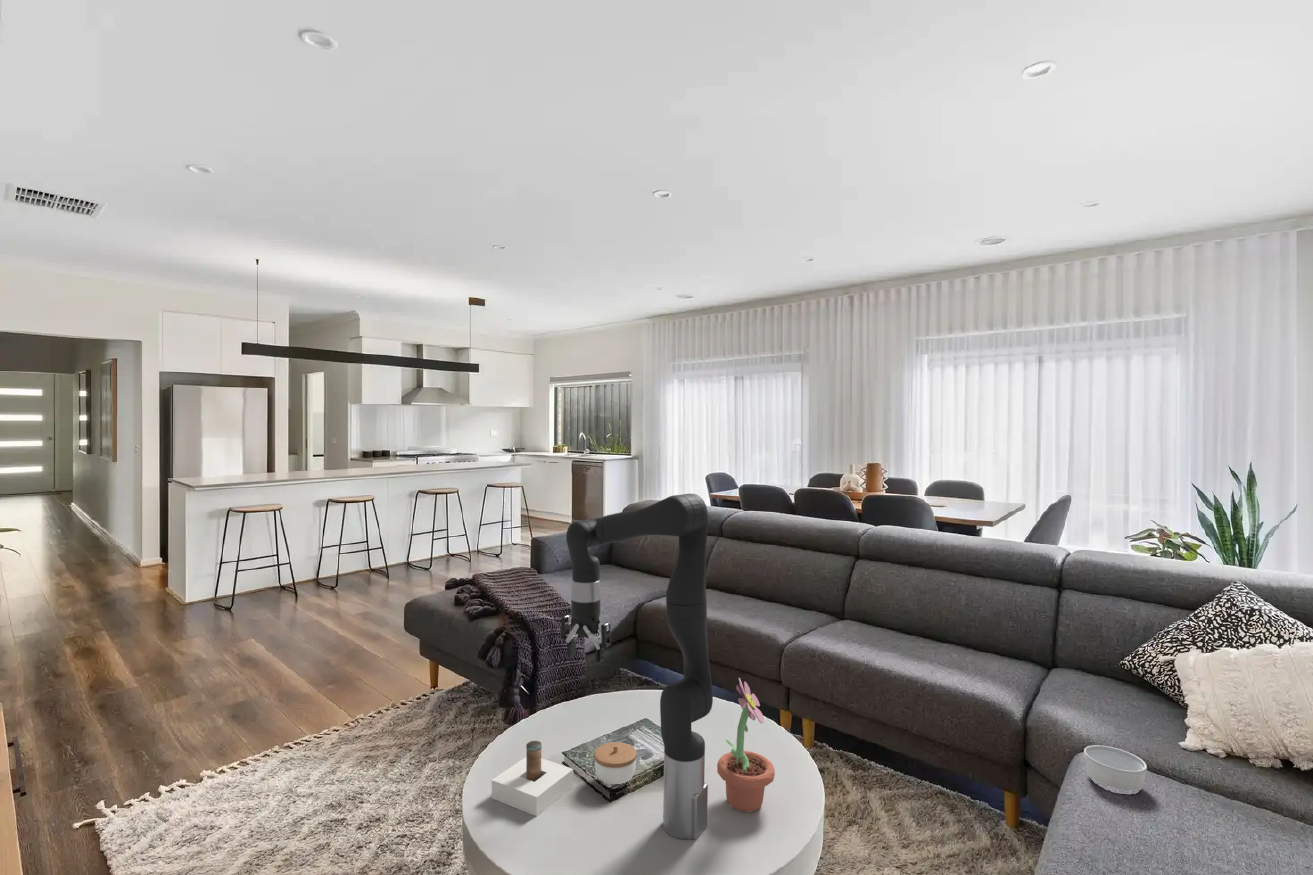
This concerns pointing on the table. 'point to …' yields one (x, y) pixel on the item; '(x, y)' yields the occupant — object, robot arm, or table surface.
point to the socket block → (532, 786)
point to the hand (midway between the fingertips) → (585, 659)
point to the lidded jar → (615, 762)
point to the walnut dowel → (533, 760)
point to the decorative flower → (745, 762)
